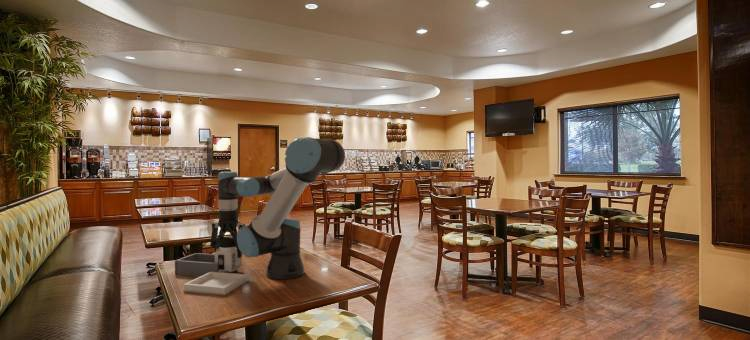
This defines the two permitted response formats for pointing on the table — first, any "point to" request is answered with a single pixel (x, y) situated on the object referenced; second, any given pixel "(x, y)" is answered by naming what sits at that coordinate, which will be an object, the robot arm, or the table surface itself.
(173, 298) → the table surface
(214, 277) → the tray
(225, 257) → the container
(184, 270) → the bay
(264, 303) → the table surface
